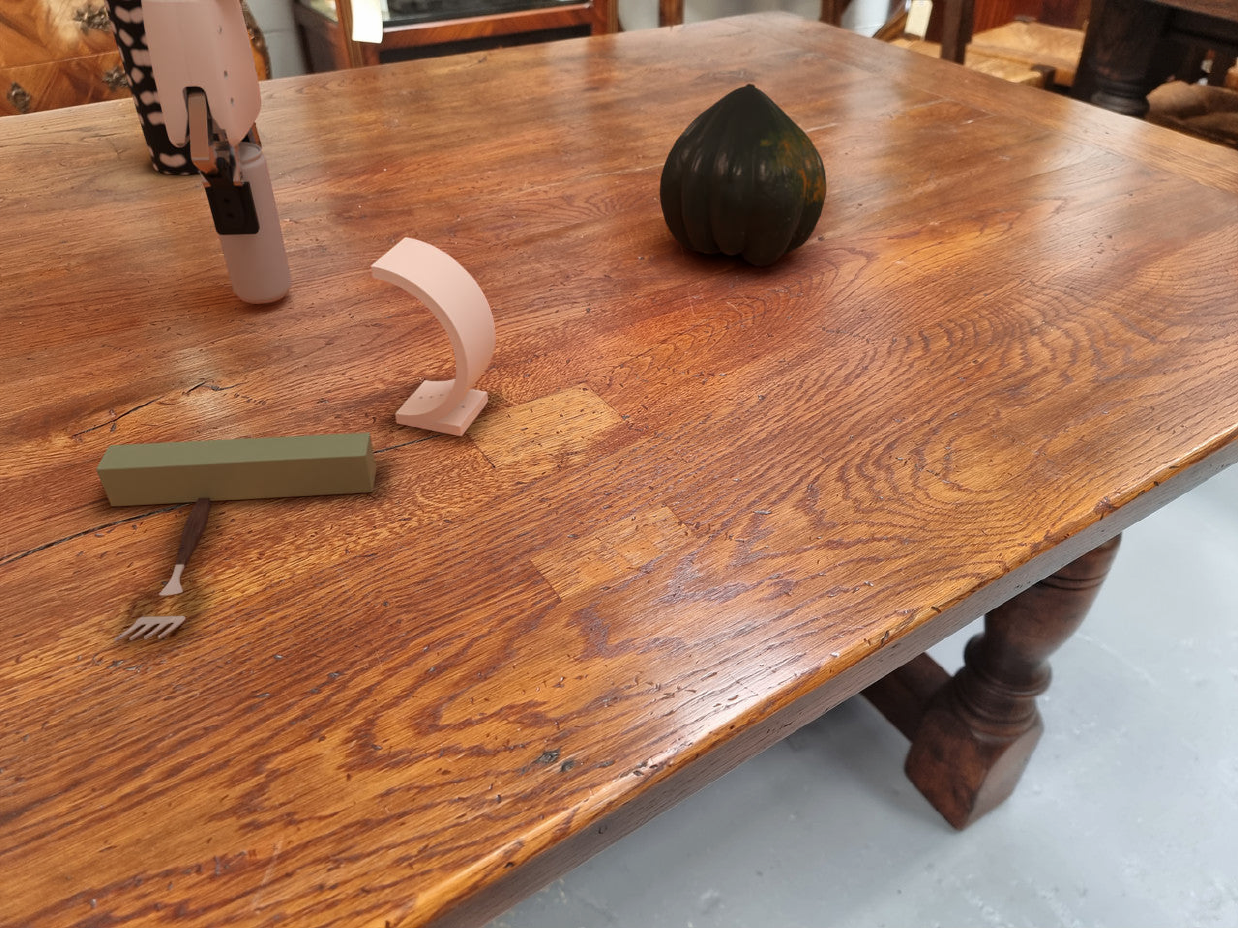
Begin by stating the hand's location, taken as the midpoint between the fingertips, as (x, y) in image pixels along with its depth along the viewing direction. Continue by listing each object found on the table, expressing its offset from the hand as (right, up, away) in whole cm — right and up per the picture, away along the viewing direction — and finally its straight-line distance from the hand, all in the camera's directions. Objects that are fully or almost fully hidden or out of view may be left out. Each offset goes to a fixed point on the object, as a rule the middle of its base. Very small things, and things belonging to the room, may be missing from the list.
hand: (246, 216), depth 74 cm
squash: (+41, +1, +15) cm, 44 cm away
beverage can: (0, -6, +4) cm, 7 cm away
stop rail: (+6, -21, -15) cm, 27 cm away
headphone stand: (+18, -16, -8) cm, 26 cm away
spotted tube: (-18, +14, +31) cm, 39 cm away
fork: (+5, -26, -20) cm, 33 cm away
